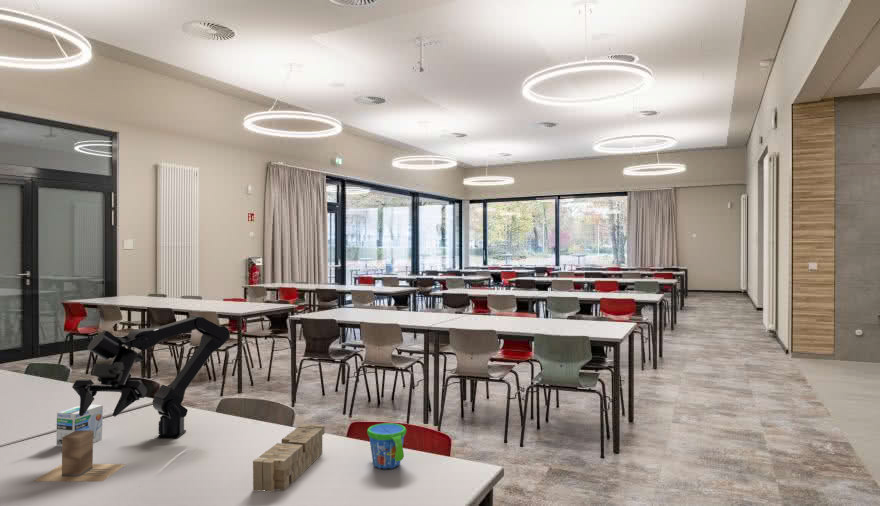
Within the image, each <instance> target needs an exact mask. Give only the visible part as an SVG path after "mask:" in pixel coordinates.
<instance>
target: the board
mask: <svg viewBox="0 0 880 506" xmlns="http://www.w3.org/2000/svg"><path fill="white" fill-rule="evenodd" d="M126 465H127V464H124V463H123V464H121V463H117V464H116V463H103V464H102V463H101V464H99V463H97V464H96V463H93V468H92V469H91V470H89V471H87V472H86V473H84V474H83V475H81V476H80V477H62V463H61V464H60V465H58V466H57V467H54V468H53V469H52V470H50V471H48V472H46V473H44V474H43V475H41V476H39V477H38V478H36V479H34V480H33V482H103V481H104V480H107V478H109V477H110V476H112V475H113V474H114V473H116V472H117V471H120V469H121V468H123V467H124V466H126Z"/></svg>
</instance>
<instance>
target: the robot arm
mask: <svg viewBox="0 0 880 506" xmlns="http://www.w3.org/2000/svg"><path fill="white" fill-rule="evenodd" d="M194 330H196V331H197V332H198V333H200V334H201V337H200V342H199V346H198V347H197V348H196V349H195V351H194V352H193V354H192V355H191V356H190V358H189V359H188V360H187V362H186V363H185V364H184V366H183V367H182V369H181V370H180V371H179V373H178V374H177V375H176V376H175V378H174V379H173V381H172V382H171V383H169V384H168V385H166V384H161V386H160V387H159V389H158V391H157V392H156V393H154V394H153V396H154V397H153V399H152V407H153V409H154V410H156V411H157V413H158V415H159V416H160V417H159V418H160V419H159V421H158V435H157V438H158V439H177V438H180V437H181V436H182V435H184V434H185V433H186V432H187V429H185V417H187V414H188V410H189V409H187V408H186V407H185V406H184V405H183V404H182V403H183V401H184V399H185V395H186V394H185V393H186V390H187V389H188V387H189V386H190V384H191V383H192V381H193V380H194V379H195V377H196V376H197V375H198V374H199V372H200V370H201V369H202V368H203V366H204V365H205V363H206V362H207V361H208V360H209V358H210V357H211V355H212V354H213V353H214V352H216V351H217V350H218V349H220V348H222V346H223V345H225V344H226V342H227V341H228V340H229V339H230V337H231V335H230V331H229V329H228V327H226V326H224V325H218V324H217V323H214V322H212V321H210V320H208V319H207V318H205V317H203V316H201V315H192V316H191V317H187V318H184V319H181V320H177V321H173V322H171V323H167V324H163V325H159V326H158V327H145V328H144V327H143V328H137V329H132V330H130V331H129V332H128V334H126V335H124V336H121V337H116V336H115V335H114V334H112V333H111V332H109V331H108V330H103V331H102V332H101V333H100V334H98V335H97V336H95V337H94V338H92V339H91V341H90V342H89V344H88V345H87V350H88V351H90V352H92V353H93V354H94V355H96V356H98V357H100V358H102V359H103V360H109V359H112V360H111V363H94V365H93V369H92V374H91V376H92V377H94V376H95V377H97V381H98V382H100V383H99V384H98V383H95V382H94V381H93V380H92V379H85V378H84V379H83V378H82V379H81V378H79V379H76V380H75V381H74V383H73V385H72V386H71V387H72V389H73V390H74V391H75V392H76V393H77V394H78V396H79V400H80V401H79V406H80V410H79V415H80V416H83V415H84V414H85V412H86V411H87V409H88V408H89V406H90V405H91V404H93V402H94V401H95V396H96V395H97V393H98V392H106V393H107V392H109V393H110V392H113V393H120V392H121V393H120V398H119V400H118V401H117V403H116V406H115V408H114V410H113V413H112V417H116V416H118V415H119V414H121V413H122V412H123V411H124V410H125V409H127V407H129V406H130V405H131V404H133V403H134V402H136V401H139V400H140V399H145V398H146V396H147V393H148V388H147V387H146V386H145V385H144V383H143V382H142V380H141V379H131V377H132V374H131V371H132V369H133V367H134V365H135V364H137V363H139V362H143V361H144V360H145V357H144V356H143V354H142V351H145V350H148V349H151V348H153V347H154V346H156V345H158V344H159V343H160V342H162V341H164V340H166V339H169V338H172V337H176V336H178V335H182V334H184V333H189V332H191V331H194ZM133 349H136V350H139V352H137V351H136V350H133ZM127 379H128V380H127ZM157 438H156V439H157Z"/></svg>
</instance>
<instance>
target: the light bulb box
mask: <svg viewBox="0 0 880 506" xmlns="http://www.w3.org/2000/svg"><path fill="white" fill-rule="evenodd" d="M79 410H80V405H78V406H73V407H70V408H68V409H65V410H61V411H59V412H58V411H57V412H56V439H55V440H56V442H55V443H56V447H59V448H60V447H61V448H62V437H64V436H66V435H68V434H70V433H72V432H74V431H93V444H94V443H96V442H99V441H102V439H103V418H104V417H103V413H104V406H103V404H93V403H91V405H90V406H89V408H88V409H87V411H86V412H85V414H84V415H83V416H80V415H79Z"/></svg>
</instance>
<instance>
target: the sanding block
mask: <svg viewBox="0 0 880 506" xmlns="http://www.w3.org/2000/svg"><path fill="white" fill-rule="evenodd" d="M93 454H94V443H93V431H74V432H72V433H70V434H68V435H66V436H64V437H62V447H61V464H62V477H80V476H81V475H83V474H84V473H86V472H87V471H89V470H91V469H92V468H93V464H94V463H93V462H94V459H93V457H94V455H93Z"/></svg>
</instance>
